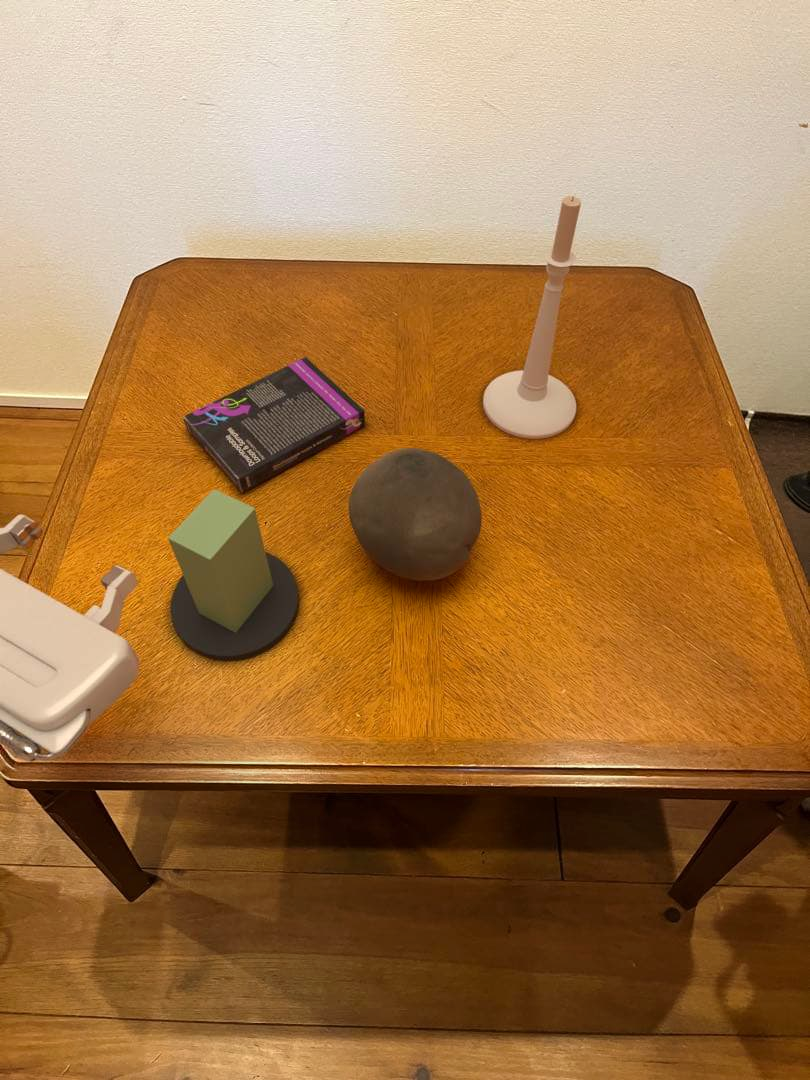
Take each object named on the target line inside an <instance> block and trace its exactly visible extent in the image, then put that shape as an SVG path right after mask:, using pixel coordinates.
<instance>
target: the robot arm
mask: <svg viewBox="0 0 810 1080" xmlns="http://www.w3.org/2000/svg"><path fill="white" fill-rule="evenodd" d="M42 535H43V529H42V527H41V526H40V525H39V523H38V521H37V520H35V519H33V518H30V517H29V516H27V515H25V514H23V513H22V514H21V513H19V514H18V515H16V516H15V517H14V518H13V519H12V520H11V521H9V523H7V524H6V525H5V526H4V527H0V555H3V554H4V553H6V552H8V551H10V550H13V549H15V548H17V547H19V546H21V547H23V548H24V549H26V550H28V549H29V548H31V547H32V546H33V544H34V543H35V541H36V540H39V539H40V538H41V537H42ZM99 581H100V583H101V585H102V586H103V587H104V589H105V593H104V597H103V600H102V604H101V607H100V606H99V605H97V604H93V605H92V606H91V607H90V609H88V610H87V612H85V614H82V613H80V612H79V611H77V610H75V609H73V608H71V607H69V606H67V605H65V604H64V603H62V602H60V601H59V600H57V599H55V598H53V597H51V596H50V595H48V594H46V593H45V592H43V591H41V590H39V589H37V588H36V587H34V586H32V585H30V584H29V583H27V582H25V581H23V580H22V579H20V578H18V577H16V576H15V575H13V574H11V573H9V572H7V571H6V570H4V569H3V568H0V745H3V746H4V747H6V748H8V749H10V750H11V751H12V752H13V754H15V755H16V757H18V758H20V759H22V760H24V761H26V762H30V763H32V762H35V761H36V760H38V761H50V760H54V759H56V758H60V757H63V756H64V755H66V754H67V753H68V752H70V750H71V749H72V748H73V747H74V745H75V744H77V742H78V741H79V739H80V738H81V737H82V736H83V735H84V734H85V732H86V731H87V729H88V727H89V726H90V725H91V724H92V723H93V722H95V721H96V720H97V719H98V718H99V717H100V716H101V715H102V714H104V712H105V711H107V710H108V709H109V708H110V707H111V706H112V705H113V704H114V703H115V702H117V700H118V699H119V698H120V697H121V696H122V695H123V694H124V693H125V692H126V691H127V690H128V688H130V686H131V685H132V684H133V683H134V682H135V681H136V679H137V678H138V676H139V671H140V670H139V669H140V660H139V657H138V655H137V654H136V652H135V650H134V648H133V647H132V645H131V644H130V643H129V641H128V640H127V639H125V638H124V637H122V636H121V635H119V634H117V633H116V631H117V630H118V629H119V627H120V625H121V624H120V623H121V619H122V614H123V609H124V604H125V600H126V599H127V598H128V597H129V595H130V594H131V593H133V591H134V590H135V589H136V587H137V586H138V579H137V576H136V574H135V573H134V572H132V571H130V570H128V569H127V568H124V567H122V566H120V565H118V564H115V565H113V566H112V567H111V568H110V571H109V572H106V573H104V575H103V576H102V577H101V578H100V579H99ZM42 749H43V750H45V751H46V752H48V753H44V752H43V753H42Z"/></svg>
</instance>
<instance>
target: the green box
mask: <svg viewBox="0 0 810 1080" xmlns="http://www.w3.org/2000/svg"><path fill="white" fill-rule="evenodd" d="M257 515H258V514H257V511H256V508H255V507H253V506H251V505H249V504H247V503H244V502H242V501H240V500H239V499H236V498H234V497H232V496H230V495H228V494H226V493H224V492H222V491H220V490H218V489H216V488H213V489H212V490H211V491H210V492H209V493H208V494H207V495H206V496H205V497H204V498H203V500H202V501H200V503H199V504H198V505H197V506H196V507H195V508H194V510H192V512H191V513H189V514H188V515H187V517H186V518H185V519H184V520H183V521H182V522H181V523H180V524H179V526H178V527H176V529H175V530H173V532H172V533H171V534H170V535H169V536H168V537H167V539H168V542H169V544H170V547H171V549H172V552H173V554H174V556H175V559H176V561H177V564H178V566H179V568H180V571H181V573H182V576H184V578H185V580H186V583H187V585H188V588H189V590H190V592H191V595H192V597H193V600H194V602H195V604H196V607H197V609H198V612H199V613H200V614H202V615H203V616H205V617H207V618H209V619H211V620H213V621H215V622H216V623H218V624H220V625H222V626H224V627H226V628H228V629H229V630H231V631H233V632H235V633H236V632H237V631H238V630H239V628H240V627H241V626H242V625H243V623H244V622H245V621H246V619H247V618H248V617H249V616H250V614H251V613H252V612H253V611H254V609H255V608H256V607H257V605H258V604H259V603H260V602H261V600H262V599H263V598H264V597H265V595H266V594H267V593H268V592H269V590H270V589H271V588H272V586H273V582H272V578H271V574H270V569H269V565H268V561H267V557H266V553H265V552H266V549H265V545H264V540H263V537H262V532H261V529H260V524H259V520H258V516H257Z"/></svg>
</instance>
